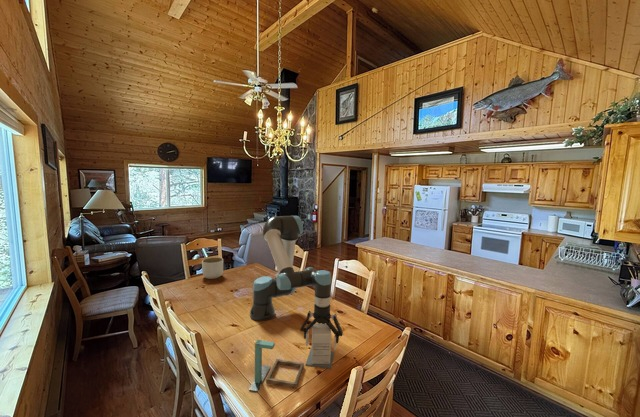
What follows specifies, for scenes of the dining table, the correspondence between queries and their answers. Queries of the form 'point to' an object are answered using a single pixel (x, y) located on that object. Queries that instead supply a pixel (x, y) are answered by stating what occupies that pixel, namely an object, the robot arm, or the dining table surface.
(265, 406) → the dining table surface
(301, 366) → the frame
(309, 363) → the coaster
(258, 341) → the teal bent bar
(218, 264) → the planter
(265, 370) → the rail
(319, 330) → the supplement box
